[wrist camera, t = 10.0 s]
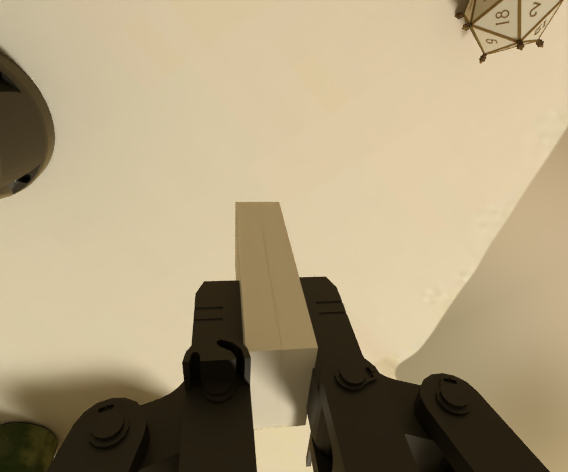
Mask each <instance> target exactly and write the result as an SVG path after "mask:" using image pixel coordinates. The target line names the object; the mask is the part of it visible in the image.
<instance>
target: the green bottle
mask: <svg viewBox="0 0 568 472" xmlns="http://www.w3.org/2000/svg"><path fill="white" fill-rule="evenodd" d="M57 446H58V443H57V440H56V437H55V436H54V435H53V434H52V433H51V432H49V431H48V430H46V429H45V428H43V427H40V426H37V425H32V424H28V423H9V424H4V425H1V426H0V472H46V471H47V469H48V468H49V466H50V464H51V463H52V461H53V458H54V455H55V452H56V449H57Z"/></svg>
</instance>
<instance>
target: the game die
mask: <svg viewBox="0 0 568 472" xmlns="http://www.w3.org/2000/svg"><path fill="white" fill-rule="evenodd" d="M562 2H563V0H469V1H468V4H467V6H466V9H465V11H464V13H462V12H461V13H458V14H457V15H456V16H455V17H456V18H457V19H460V18H462V17H464V18H465V20H466V22H467V24H465V25H463V28H462V29H463V30H466V31H467V30H469V28H470V30H471V32H472V33H473V35H474V37H475V39H476V41H477V43H478V45H479V47H480V48H481V50H482V52H483V55H482V56H480V58H479V59H480V64H481V63H482V62H483V61H485V59H486V55H488V54H492V53H495V52H499V51H503V50H507V49H510V48H514V47H517V49H520V50H522V49H523V47H524V45H525V44H529V43H533V42H536V45H537V46H538V47H543V43H544V41H542V40H540V39H539V38H540V36H541V35H542V33H543V32H544V30H545V29H546V27H547V25H548V24H549V22H550V21H551V19H552V18H553V16H554V14H555V13H556V11H557V10H558V8H559V7H560V5H561V3H562Z"/></svg>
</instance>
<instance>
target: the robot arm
mask: <svg viewBox="0 0 568 472" xmlns="http://www.w3.org/2000/svg"><path fill="white" fill-rule="evenodd" d="M54 143H55V132H54V125H53V121H52V117H51V114H50V111H49V109H48V106H47V104H46V102H45V100H44V98H43V97H42V95H41V93H40V92H39V90H38V89H37V87H36V86H35V85H34V83H33V82H32V81H31V80H30V78H29V77H28V76H27V75H26V74H25V73H24V72H23V71H22V70H21V69H20V68H19V67H18V66H17V65H16V64H15V63H13V62H12V61H11V60H10V59H8V58H7V57H6V56H4V55H3V54H2V53H0V199H1V198H5V197H8V196H11V195H14V194H16V193H18V192H20V191H21V190H23V189H25V188H26V187H28V186H29V185H30V184H31V183H32V182H33V181H34V180H35V179H36V178H37V177H38V176H39V175H40V174H41V173H42V172H43V171H44V169H45V168H46V167H47V165H48V163H49V161H50V159H51V157H52V154H53V150H54ZM235 270H236V281H205V282H203V284H202V285H201V287H200V288H199V290H198V291H197V293H196V296H195V311H194V322H193V334H192V346H191V347H190V348H189V349H188V350H187V351H186V353H185V356H184V359H183V362H182V364H183V374H184V382H183V383H182V384H181V385H180V386H179V387H178V388H177V389H176V390H174V391H173V392H172V393H170V394H168V395H166V396H164V397H162V398H160V399H157V400H155V401H152V402H149V403H146V404H144V405H141V406H140V405H139V404H138V403H137V402H136V401H133V400H130V399H127V398H111V399H108V400H105V401H102V402H99V403H97V404H95V405H94V406H92V407H91V408H90V409H88V410H87V411H85V412H84V413H83V414H82V415H81V417H80V418H79V419H78V420H77V421H76V423H75V424H74V425H73V427H72V429H71V430H70V432H69V434H68V436H67V437H66V439H65V441H64V442H63V444H62V446H61V447H60V449H59V451H58V452H57V454H56V456H55V457H54V459H53V461H52V463H51V464H50V466H49V468H48V469H47V471H46V472H257V467H256V454H255V441H254V430H255V429H266V428H277V427H289V426H300V425H305V424H306V418H307V414H308V419H309V424H310V429H311V434H310V439H309V445H308V450H307V456H306V467H307V466H311V462H312V465H313V470H314V472H550V471H549V470H548V469H547V468H546V467H545V466H544V465H543V464H542V463H541V462H540V460H539V459H538V458H537V457H536V456H535V455H534V454H533V453H532V452H531V451H530V449H529V448H528V447H527V446H526V445H525V444H524V443H523V442H522V440H521V439H520V438H519V437H518V436H517V435H516V434H515V433H514V432H513V430H512V429H511V428H510V427H509V426H508V425H507V424H506V423H505V422H504V420H502V418H501V417H500V416H499V415H498V414H497V413H496V412H495V411H494V409H493V408H492V407H491V406H490V405H489V404H488V403H487V402H486V401H485V399H484V398H483V397H482V396H481V395H480V394H479V393H478V392H477V391H476V390H475V389H474V388H473V387H472V386H470V385H469V384H468V383H467V382H465V381H464V380H462V379H460V378H458V377H455V376H453V375H448V374H443V373H441V374H432V375H430V376H429V377H427V378H425V379H424V380H423V382H422V384H421V385H417V384H412V383H407V382H403V381H398V380H395V379H391V378H388V377H386V376H384V375H382V374H380V373H379V372H378V370H377V369H376V367H375V366H374V365H372V364H371V363H370V362H369V361H367V360H366V359H364V357H363V355H362V353H361V350H360V347H359V345H358V342H357V339H356V337H355V334H354V332H353V329H352V326H351V324H350V321H349V318H348V316H347V314H346V311H345V308H344V305H343V303H342V300H341V297H340V295H339V292H338V290H337V287H336V286H335V285H334V284H333V283H332V282H331V281H330V280H329V279H328V278H327V277H299V275H298V271H297V267H296V264H295V260H294V256H293V253H292V249H291V245H290V241H289V238H288V234H287V230H286V226H285V223H284V219H283V215H282V211H281V208H280V204H279V202H236V210H235Z"/></svg>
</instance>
